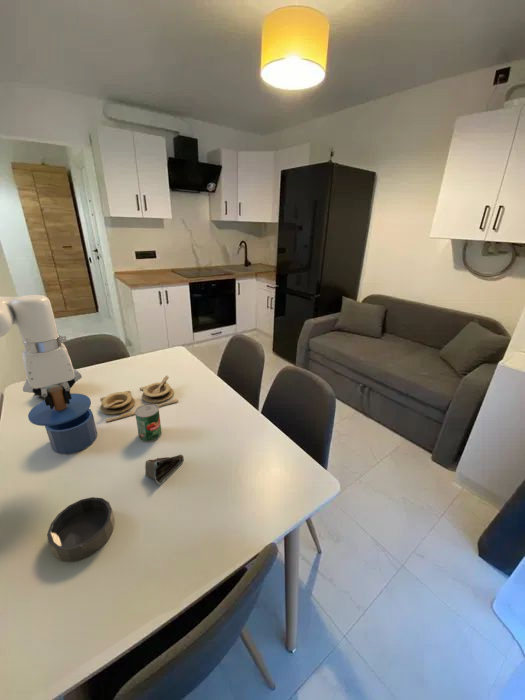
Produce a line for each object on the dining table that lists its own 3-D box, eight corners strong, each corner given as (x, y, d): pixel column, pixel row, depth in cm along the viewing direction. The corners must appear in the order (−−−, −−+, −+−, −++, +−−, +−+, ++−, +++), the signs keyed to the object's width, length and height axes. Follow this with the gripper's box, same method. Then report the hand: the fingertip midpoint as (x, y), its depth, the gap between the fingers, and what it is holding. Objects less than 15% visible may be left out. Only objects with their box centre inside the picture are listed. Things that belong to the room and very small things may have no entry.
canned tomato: (158, 442, 103) (155, 416, 99) (135, 442, 103) (131, 416, 98) (164, 427, 110) (161, 403, 106) (142, 427, 110) (139, 403, 105)
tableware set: (166, 382, 141) (165, 371, 138) (180, 402, 126) (179, 390, 124) (97, 399, 125) (95, 387, 123) (104, 424, 111) (101, 411, 108)
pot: (46, 457, 94) (38, 434, 90) (58, 431, 106) (52, 409, 102) (93, 449, 98) (87, 427, 95) (100, 425, 110) (95, 404, 106)
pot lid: (20, 432, 74) (11, 408, 71) (39, 400, 86) (32, 379, 84) (86, 422, 79) (81, 399, 76) (95, 393, 91) (90, 373, 88)
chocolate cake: (170, 452, 99) (142, 446, 90) (185, 455, 96) (158, 449, 86) (161, 483, 95) (132, 479, 86) (177, 486, 92) (148, 483, 83)
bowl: (44, 570, 65) (39, 557, 63) (61, 516, 76) (57, 504, 74) (110, 551, 69) (107, 539, 67) (117, 503, 80) (114, 492, 79)
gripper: (77, 333, 82) (89, 389, 89) (0, 346, 72) (22, 407, 79) (82, 342, 77) (95, 400, 84) (1, 357, 67) (23, 421, 74)
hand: (59, 403), depth 81 cm, fingers closed on pot lid, 3 cm apart
